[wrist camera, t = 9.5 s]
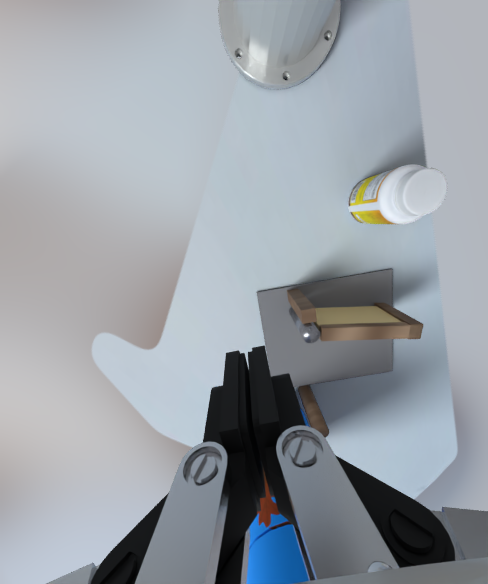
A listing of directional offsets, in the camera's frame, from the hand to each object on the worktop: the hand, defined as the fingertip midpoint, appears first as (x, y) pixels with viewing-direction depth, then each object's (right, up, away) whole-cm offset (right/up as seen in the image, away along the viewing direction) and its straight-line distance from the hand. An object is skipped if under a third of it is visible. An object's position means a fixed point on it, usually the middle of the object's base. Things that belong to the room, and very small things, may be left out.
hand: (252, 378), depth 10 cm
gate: (+13, +1, +24) cm, 27 cm away
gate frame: (+12, -2, +26) cm, 29 cm away
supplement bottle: (+16, +16, +21) cm, 31 cm away
